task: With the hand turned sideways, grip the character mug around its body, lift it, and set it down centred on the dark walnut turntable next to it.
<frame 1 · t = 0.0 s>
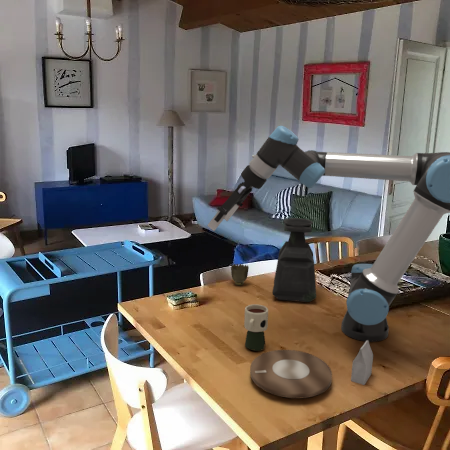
hand: (217, 223, 156), 36 cm above the table, tool tilted 35°, fingers open, 13 cm apart
turntable: (290, 371, 133), point 2 cm above the table, hinge at 0.0°
grey gabled block: (361, 378, 136), on the table
dark grey tapered pedestal: (293, 295, 193), on the table
character mug: (255, 348, 151), on the table
cup: (239, 285, 203), on the table
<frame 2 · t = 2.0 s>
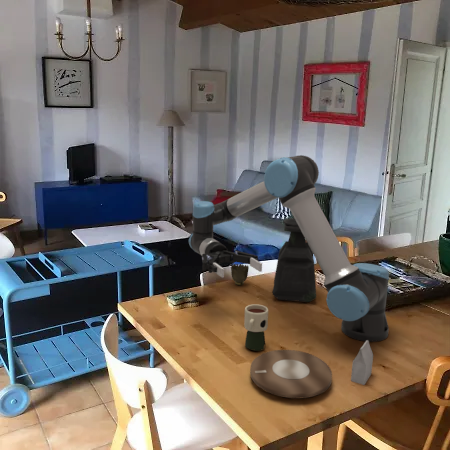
hand: (242, 270, 154), 22 cm above the table, tool horizontal, fingers open, 13 cm apart
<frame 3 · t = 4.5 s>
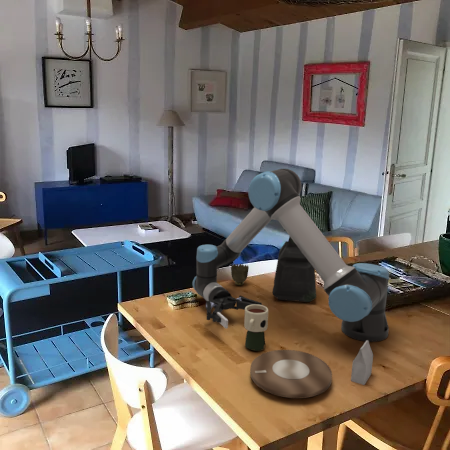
hand: (246, 320, 154), 7 cm above the table, tool horizontal, fingers open, 13 cm apart
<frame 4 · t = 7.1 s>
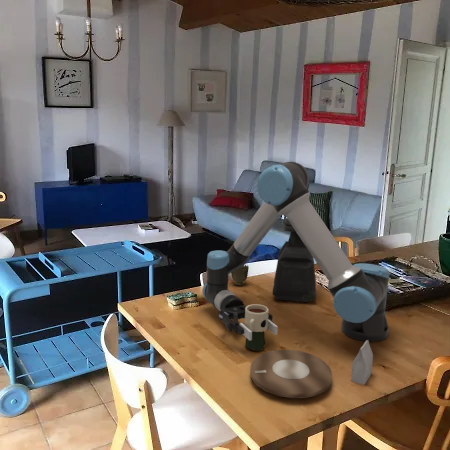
hand: (263, 333, 145), 7 cm above the table, tool horizontal, fingers closed on character mug, 8 cm apart
character mug: (255, 348, 151), on the table, touching gripper
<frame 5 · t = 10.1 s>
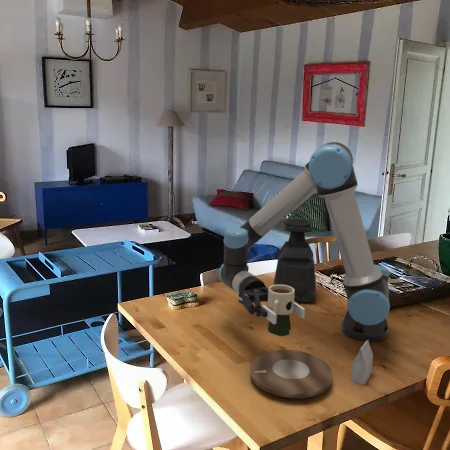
hand: (289, 316, 129), 19 cm above the table, tool horizontal, fingers closed on character mug, 8 cm apart
character mug: (278, 333, 135), point 12 cm above the table, touching gripper
when the fingers open (12 cm above the table, at t = 13.1 s): character mug drops 1 cm, resting on turntable.
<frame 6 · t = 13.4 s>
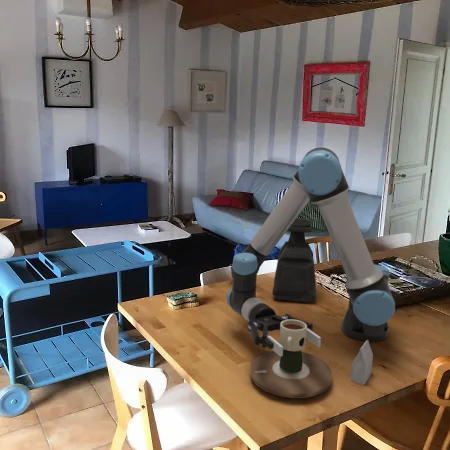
hand: (300, 347, 127), 12 cm above the table, tool horizontal, fingers open, 11 cm apart
turntable: (290, 371, 133), point 2 cm above the table, hinge at 0.0°, touching character mug
character mug: (290, 369, 133), point 3 cm above the table, touching turntable
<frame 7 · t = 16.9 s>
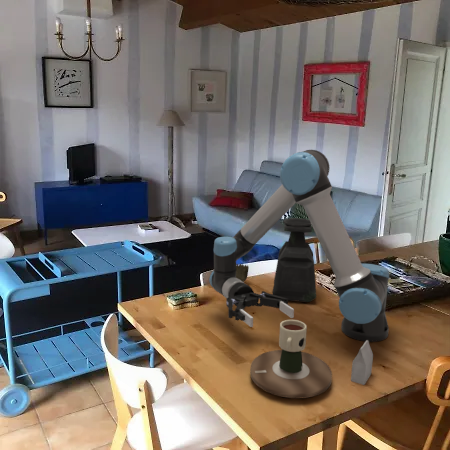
hand: (272, 318, 139), 14 cm above the table, tool horizontal, fingers open, 13 cm apart
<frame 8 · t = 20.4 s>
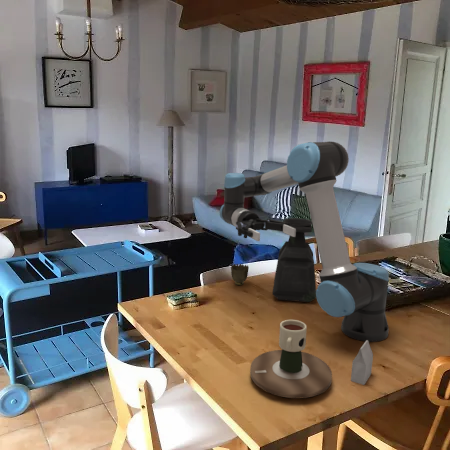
hand: (277, 235, 158), 32 cm above the table, tool horizontal, fingers open, 13 cm apart
at the end: character mug inside the target area on the turntable (0.1 cm from its centre), point 3.1 cm above the turntable's base; character mug tilted 0°; the gripper is holding nothing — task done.
